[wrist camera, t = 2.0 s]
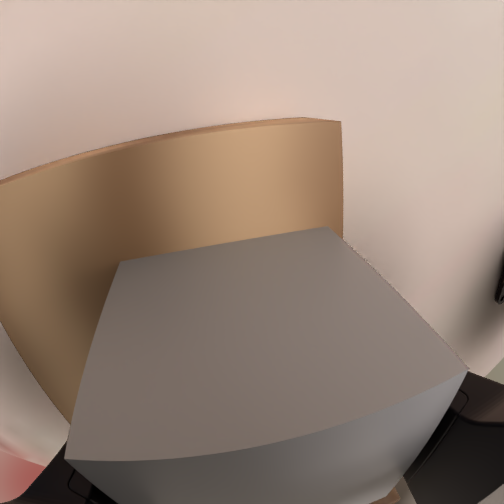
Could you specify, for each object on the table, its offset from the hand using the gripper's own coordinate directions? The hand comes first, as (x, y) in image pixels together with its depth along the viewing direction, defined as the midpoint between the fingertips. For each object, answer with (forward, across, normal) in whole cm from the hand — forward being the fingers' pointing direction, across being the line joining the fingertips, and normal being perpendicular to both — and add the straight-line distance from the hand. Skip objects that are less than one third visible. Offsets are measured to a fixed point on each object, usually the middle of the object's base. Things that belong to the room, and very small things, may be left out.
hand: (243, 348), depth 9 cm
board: (+4, +2, +7) cm, 8 cm away
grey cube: (+1, 0, 0) cm, 1 cm away
